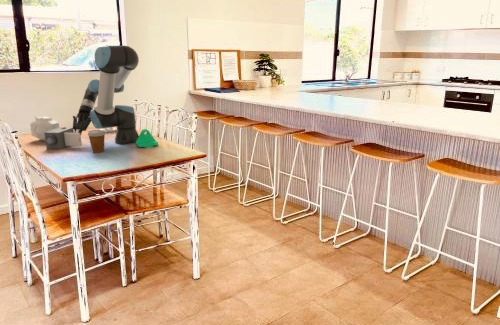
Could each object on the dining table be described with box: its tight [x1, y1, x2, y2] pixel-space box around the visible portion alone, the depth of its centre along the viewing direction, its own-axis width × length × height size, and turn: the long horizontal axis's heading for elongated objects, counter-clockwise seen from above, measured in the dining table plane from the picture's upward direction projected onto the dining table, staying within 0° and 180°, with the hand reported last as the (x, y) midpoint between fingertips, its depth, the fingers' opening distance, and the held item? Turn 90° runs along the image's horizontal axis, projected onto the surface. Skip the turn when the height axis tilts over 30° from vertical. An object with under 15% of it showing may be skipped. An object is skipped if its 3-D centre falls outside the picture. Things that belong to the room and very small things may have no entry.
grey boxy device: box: [44, 126, 75, 150], centre depth 248 cm, size 19×9×11 cm, turn 173°
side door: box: [64, 133, 83, 147], centre depth 245 cm, size 11×1×8 cm, turn 81°
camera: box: [30, 115, 60, 142], centre depth 263 cm, size 11×18×16 cm, turn 76°
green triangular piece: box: [135, 128, 159, 149], centre depth 248 cm, size 12×8×10 cm, turn 120°
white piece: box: [99, 127, 117, 133], centre depth 296 cm, size 12×11×15 cm
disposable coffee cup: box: [87, 129, 106, 154], centre depth 235 cm, size 10×10×12 cm
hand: (75, 139), depth 247 cm, fingers closed
